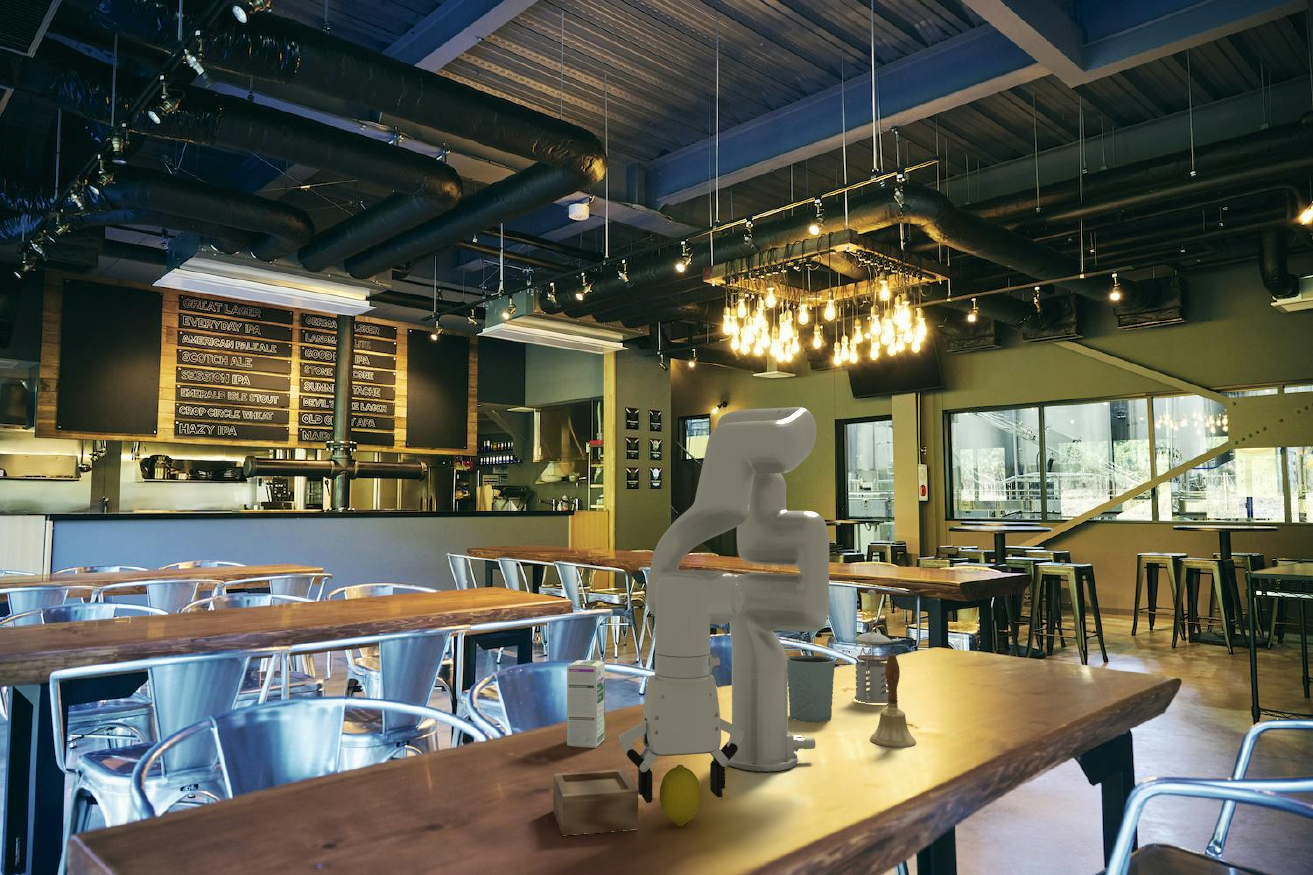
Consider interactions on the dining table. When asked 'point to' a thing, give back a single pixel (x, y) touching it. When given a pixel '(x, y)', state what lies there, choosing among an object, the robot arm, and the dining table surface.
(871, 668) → the french press
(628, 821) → the brown wooden tray
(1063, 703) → the dining table surface
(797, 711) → the grey teal cup
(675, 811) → the lemon
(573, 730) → the syrup box
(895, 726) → the hand bell
